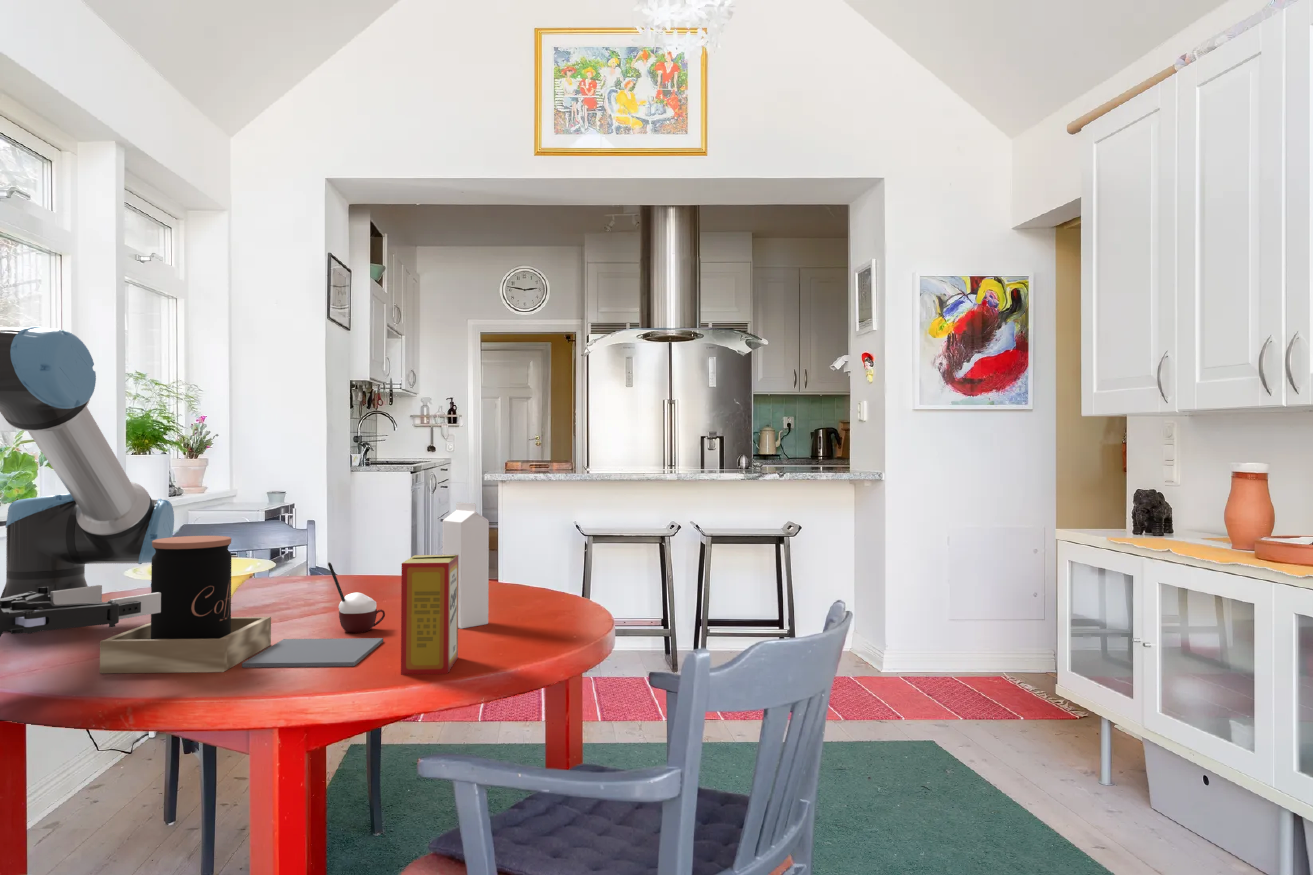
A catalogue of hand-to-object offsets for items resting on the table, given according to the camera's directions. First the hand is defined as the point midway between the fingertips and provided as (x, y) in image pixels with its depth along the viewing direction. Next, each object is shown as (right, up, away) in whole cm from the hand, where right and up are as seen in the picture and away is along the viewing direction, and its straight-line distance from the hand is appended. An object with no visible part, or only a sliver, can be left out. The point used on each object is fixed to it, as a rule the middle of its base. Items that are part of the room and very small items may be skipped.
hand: (129, 598), depth 122 cm
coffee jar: (+4, -11, +8) cm, 14 cm away
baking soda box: (+42, -11, +4) cm, 43 cm away
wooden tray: (+4, -11, +8) cm, 14 cm away
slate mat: (+22, -11, +11) cm, 27 cm away
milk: (+40, -11, +34) cm, 54 cm away
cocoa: (+22, -11, +28) cm, 38 cm away
